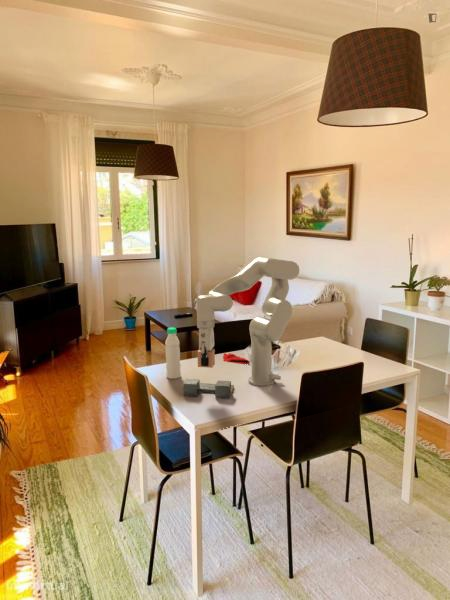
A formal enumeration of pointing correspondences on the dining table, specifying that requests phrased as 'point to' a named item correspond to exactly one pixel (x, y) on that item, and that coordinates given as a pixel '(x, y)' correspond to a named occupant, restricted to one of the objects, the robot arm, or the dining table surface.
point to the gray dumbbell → (207, 388)
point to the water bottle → (172, 354)
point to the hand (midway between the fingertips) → (206, 363)
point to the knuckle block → (210, 355)
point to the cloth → (234, 359)
